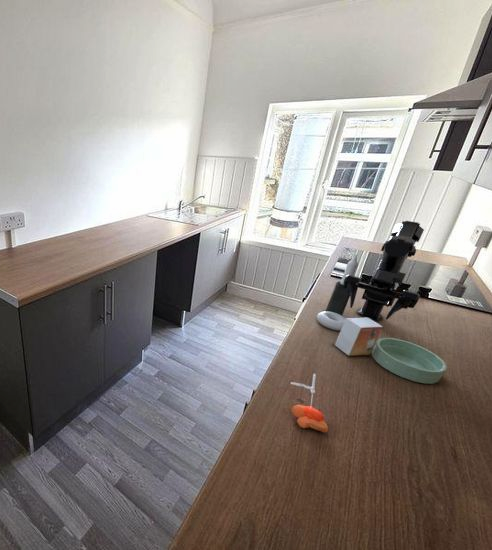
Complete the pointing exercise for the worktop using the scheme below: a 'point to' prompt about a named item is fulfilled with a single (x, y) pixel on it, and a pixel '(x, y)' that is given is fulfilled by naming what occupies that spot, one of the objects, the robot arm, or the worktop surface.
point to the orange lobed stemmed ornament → (309, 412)
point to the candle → (342, 290)
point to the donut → (331, 320)
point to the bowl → (408, 360)
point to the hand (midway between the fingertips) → (368, 313)
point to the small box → (358, 336)
